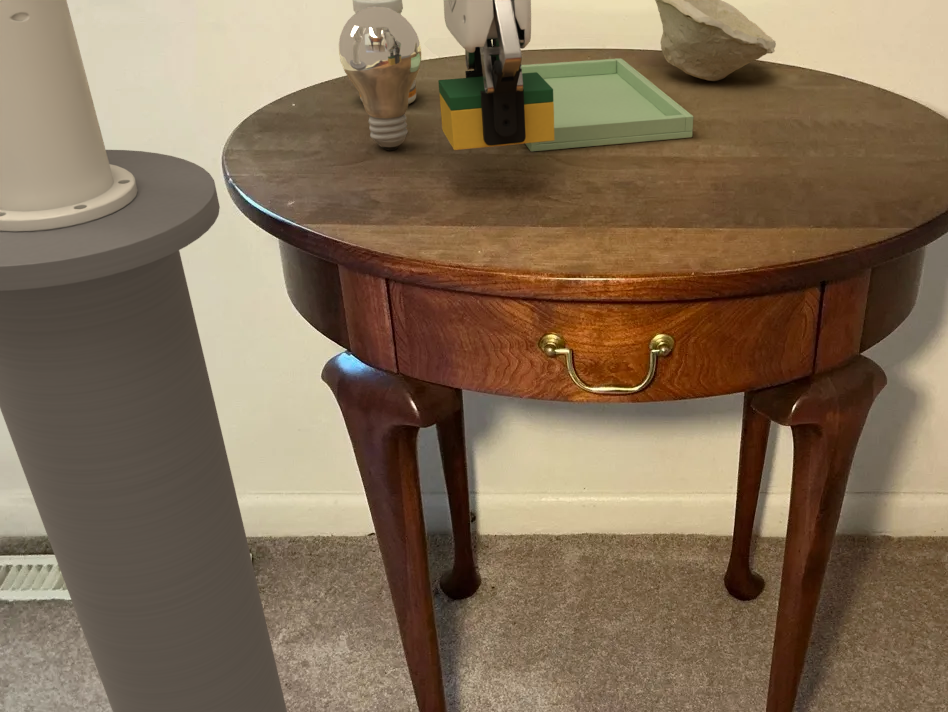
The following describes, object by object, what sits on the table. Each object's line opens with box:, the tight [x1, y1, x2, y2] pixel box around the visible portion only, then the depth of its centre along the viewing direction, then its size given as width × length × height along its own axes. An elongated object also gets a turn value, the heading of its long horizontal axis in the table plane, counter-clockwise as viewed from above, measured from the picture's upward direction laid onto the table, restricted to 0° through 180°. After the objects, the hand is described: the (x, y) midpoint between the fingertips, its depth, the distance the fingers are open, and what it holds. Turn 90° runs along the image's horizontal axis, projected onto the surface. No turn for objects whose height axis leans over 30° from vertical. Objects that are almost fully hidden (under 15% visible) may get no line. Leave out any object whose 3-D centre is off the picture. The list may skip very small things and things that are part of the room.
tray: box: [521, 57, 694, 153], centre depth 105 cm, size 16×22×2 cm
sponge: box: [437, 72, 554, 151], centre depth 82 cm, size 8×5×4 cm, turn 107°
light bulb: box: [338, 7, 422, 151], centre depth 91 cm, size 7×7×12 cm
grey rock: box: [654, 0, 777, 82], centre depth 113 cm, size 15×14×10 cm
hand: (496, 129), depth 83 cm, fingers closed on sponge, 5 cm apart
